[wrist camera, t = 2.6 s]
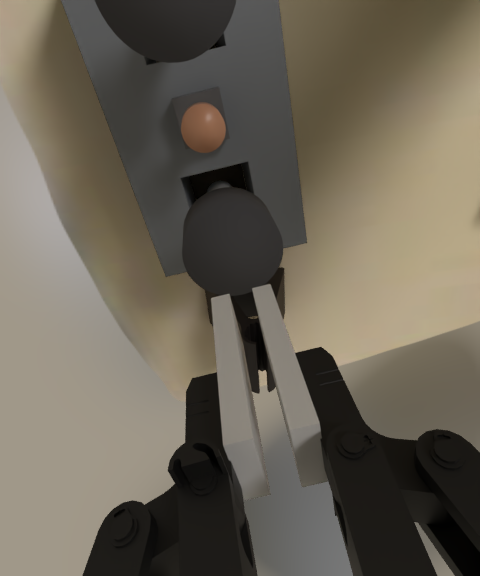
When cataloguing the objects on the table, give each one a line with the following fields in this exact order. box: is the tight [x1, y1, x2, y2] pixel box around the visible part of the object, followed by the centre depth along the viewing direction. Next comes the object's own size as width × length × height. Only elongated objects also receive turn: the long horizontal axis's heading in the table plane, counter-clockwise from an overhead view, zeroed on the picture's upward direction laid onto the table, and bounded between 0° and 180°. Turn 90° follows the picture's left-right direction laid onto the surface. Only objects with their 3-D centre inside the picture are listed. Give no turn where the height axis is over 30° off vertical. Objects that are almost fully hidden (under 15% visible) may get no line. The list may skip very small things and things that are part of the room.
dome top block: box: [172, 86, 230, 153], centre depth 22 cm, size 3×3×5 cm
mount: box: [61, 0, 307, 277], centre depth 27 cm, size 22×12×8 cm, turn 12°
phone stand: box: [205, 268, 285, 393], centre depth 36 cm, size 9×6×12 cm, turn 94°
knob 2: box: [182, 181, 283, 296], centre depth 24 cm, size 6×6×10 cm
